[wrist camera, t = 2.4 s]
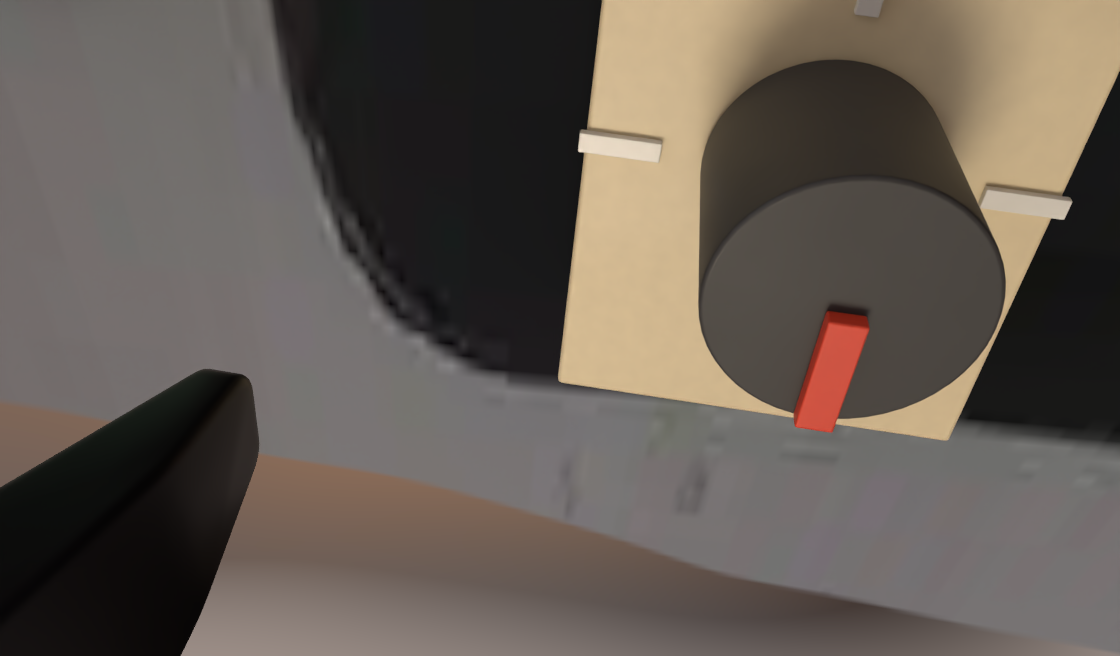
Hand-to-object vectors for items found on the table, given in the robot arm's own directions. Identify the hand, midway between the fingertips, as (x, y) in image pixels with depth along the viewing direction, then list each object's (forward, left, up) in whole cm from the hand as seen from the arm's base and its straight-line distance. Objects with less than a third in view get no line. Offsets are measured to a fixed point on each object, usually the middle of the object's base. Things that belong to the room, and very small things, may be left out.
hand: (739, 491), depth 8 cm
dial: (-2, +1, -9) cm, 9 cm away
